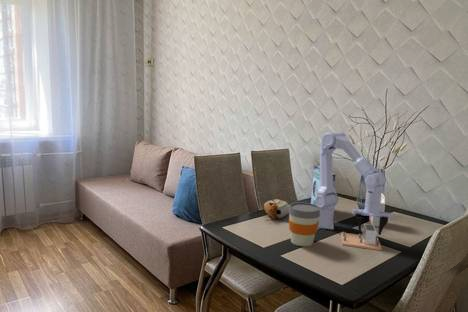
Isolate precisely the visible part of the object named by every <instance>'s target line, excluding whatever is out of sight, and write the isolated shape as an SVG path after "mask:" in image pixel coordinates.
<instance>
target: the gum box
mask: <svg viewBox="0 0 468 312" xmlns="http://www.w3.org/2000/svg"><path fill="white" fill-rule="evenodd" d="M312 177H313V178H312V186H311V199H310V203H311V204H314V205H316V203H315V198H316V195H317V191H318V189H319V188H320V187H321V185H320V165H314V166H313V173H312ZM335 182H336V173H333V187H334V188H335Z"/></svg>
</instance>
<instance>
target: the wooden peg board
mask: <svg viewBox="0 0 468 312" xmlns="http://www.w3.org/2000/svg"><path fill="white" fill-rule="evenodd" d="M362 235H363V234H362V233H358V234H356V233H347V232H345V231H342V232H340V239H341V245H342V246H345V247H346V246H347V247H353V248H361V249H368V250H376V251H383V248H382V244H381V242H380V240H379V238H378V236H377V235H376V241H375V246H374V245H366V244H364V241H363V237H362Z"/></svg>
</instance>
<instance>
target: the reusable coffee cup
mask: <svg viewBox="0 0 468 312" xmlns="http://www.w3.org/2000/svg"><path fill="white" fill-rule="evenodd" d="M289 205H290V207H289V213H288V214H289V217H288V228H289V231H290V242H291V243H292V244H293V245H295V246H298V247H299V246H300V247H310V246H313V244H314V240H315V236H316V233H318V232H317V231H318V229H319V228H318V223H319V221H318V218H319V216H320V208H319V207H318V206H317V205H314V204H311V202H300V201H299V202H293V203H290V204H289Z"/></svg>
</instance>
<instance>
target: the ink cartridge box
mask: <svg viewBox="0 0 468 312" xmlns="http://www.w3.org/2000/svg"><path fill="white" fill-rule="evenodd" d="M385 209H386V196H385V195H384V193H382V194H381V202H380V211H382V212H385ZM368 219H369V222H370V224H373V225H374V227H379V222H380V217H373V216H369V218H368Z"/></svg>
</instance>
